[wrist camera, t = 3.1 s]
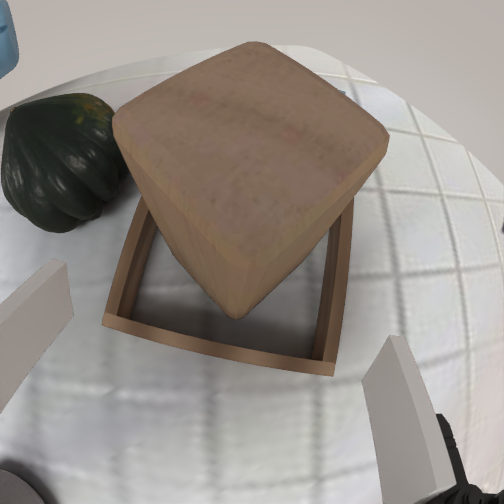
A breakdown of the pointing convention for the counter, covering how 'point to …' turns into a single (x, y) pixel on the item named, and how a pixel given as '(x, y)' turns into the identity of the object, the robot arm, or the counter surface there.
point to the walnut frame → (319, 364)
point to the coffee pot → (16, 490)
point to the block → (246, 166)
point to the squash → (61, 160)
